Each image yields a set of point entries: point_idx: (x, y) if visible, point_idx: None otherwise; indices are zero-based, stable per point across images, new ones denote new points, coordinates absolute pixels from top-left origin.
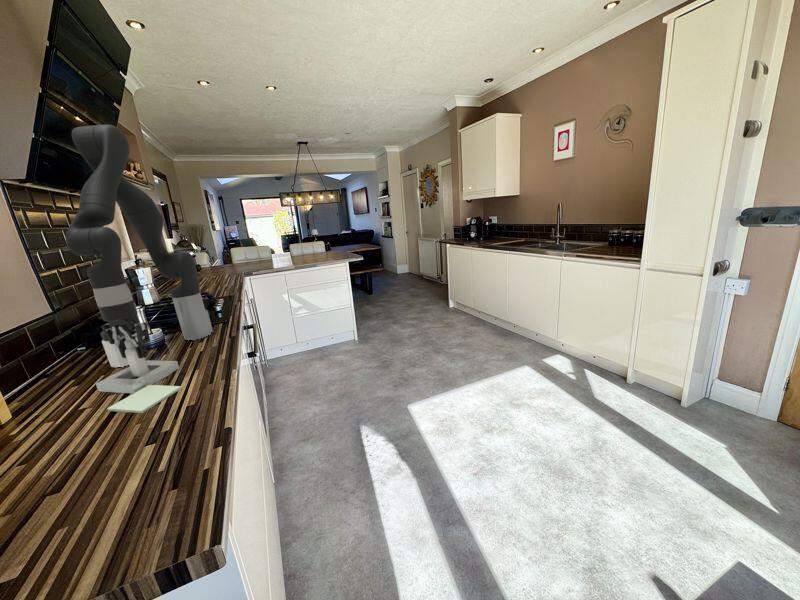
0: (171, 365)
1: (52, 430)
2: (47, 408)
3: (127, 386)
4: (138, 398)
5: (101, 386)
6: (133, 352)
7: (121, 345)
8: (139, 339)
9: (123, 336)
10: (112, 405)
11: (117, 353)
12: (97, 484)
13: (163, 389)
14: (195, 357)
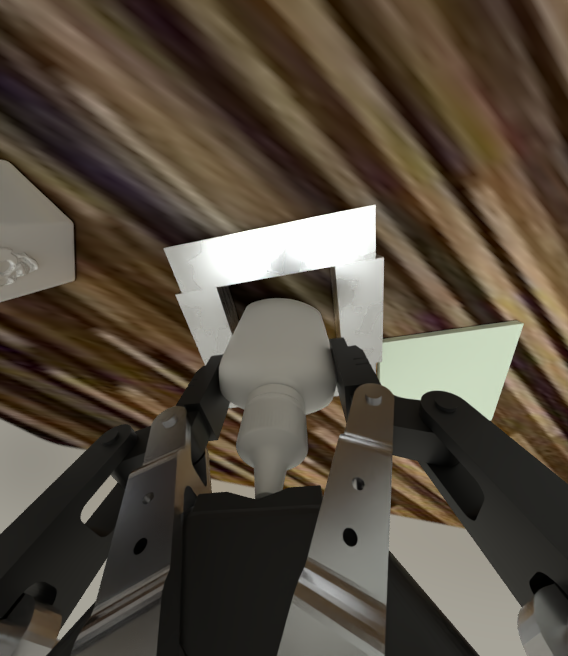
0: (373, 242)
1: None
2: (211, 446)
3: None
4: (424, 393)
5: None
6: (325, 405)
7: (207, 433)
8: (463, 490)
9: (196, 490)
10: None
11: (2, 295)
12: None
13: (466, 349)
14: (330, 50)
